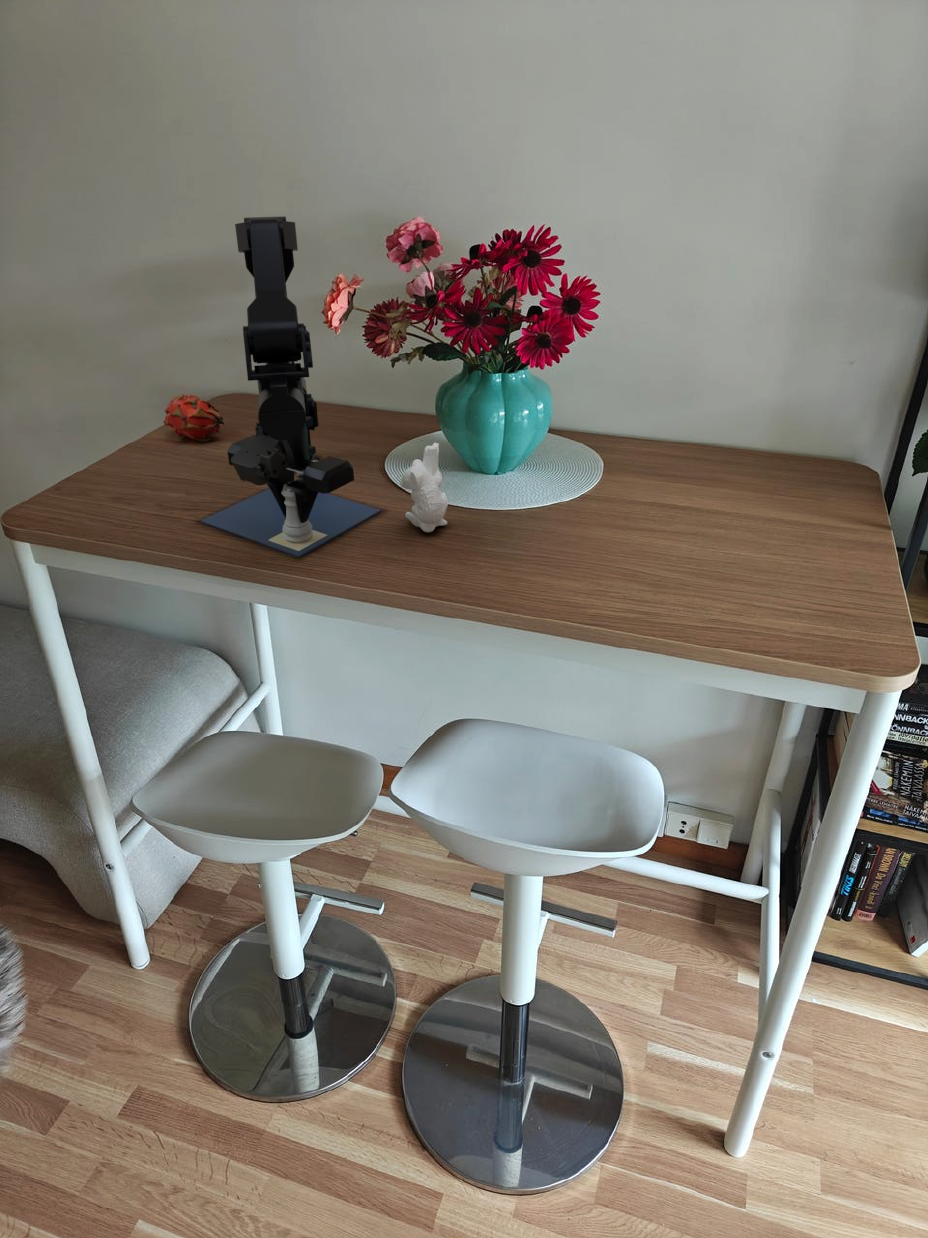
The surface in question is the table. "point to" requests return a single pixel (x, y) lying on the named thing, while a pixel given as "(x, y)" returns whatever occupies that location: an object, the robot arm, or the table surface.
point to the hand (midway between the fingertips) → (296, 519)
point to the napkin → (266, 519)
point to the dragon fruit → (192, 417)
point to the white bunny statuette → (426, 491)
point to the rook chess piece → (294, 520)
